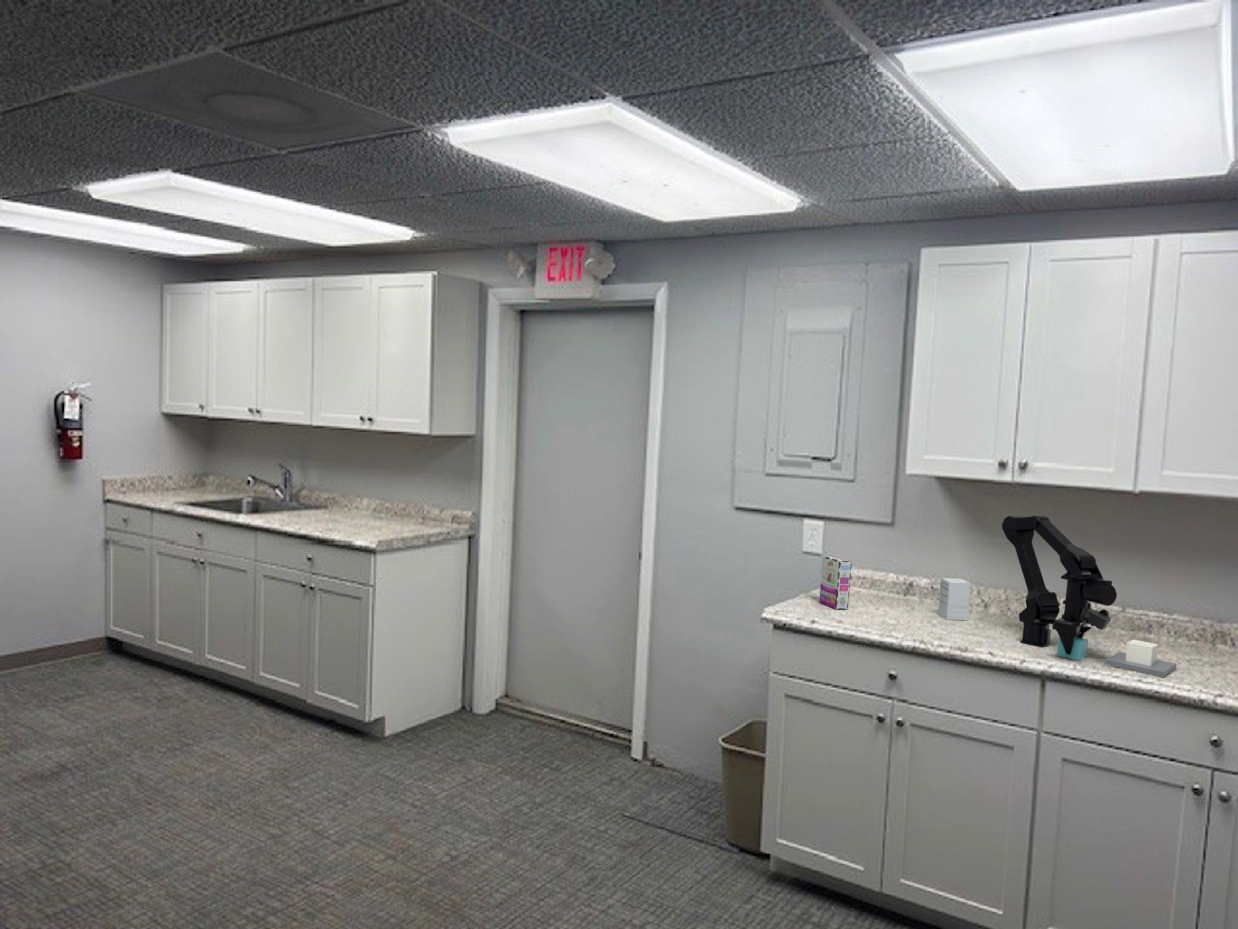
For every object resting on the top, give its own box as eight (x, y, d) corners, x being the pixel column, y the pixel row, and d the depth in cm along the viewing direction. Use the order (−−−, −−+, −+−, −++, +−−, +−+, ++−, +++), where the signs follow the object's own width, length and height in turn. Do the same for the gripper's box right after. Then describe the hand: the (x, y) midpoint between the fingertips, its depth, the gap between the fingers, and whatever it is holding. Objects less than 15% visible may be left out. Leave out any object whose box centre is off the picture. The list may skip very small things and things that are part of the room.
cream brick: (1125, 660, 241) (1127, 642, 240) (1131, 657, 245) (1133, 639, 245) (1150, 666, 236) (1152, 647, 236) (1156, 662, 241) (1158, 644, 241)
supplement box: (958, 616, 294) (962, 578, 293) (968, 621, 287) (971, 582, 286) (937, 614, 294) (940, 577, 293) (946, 620, 286) (949, 581, 286)
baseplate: (1104, 665, 241) (1105, 659, 241) (1119, 657, 251) (1119, 651, 251) (1163, 677, 231) (1163, 672, 231) (1176, 669, 241) (1176, 663, 241)
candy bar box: (849, 610, 293) (852, 561, 292) (835, 610, 291) (839, 561, 290) (831, 602, 303) (834, 555, 302) (818, 602, 302) (822, 555, 301)
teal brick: (1056, 655, 248) (1058, 638, 248) (1063, 652, 253) (1065, 635, 252) (1080, 660, 244) (1081, 642, 244) (1086, 657, 248) (1088, 639, 248)
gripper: (1098, 607, 235) (1092, 664, 236) (1118, 599, 248) (1113, 654, 249) (1054, 599, 243) (1049, 655, 244) (1075, 592, 256) (1071, 645, 257)
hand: (1072, 652), depth 248 cm, fingers closed on teal brick, 6 cm apart
